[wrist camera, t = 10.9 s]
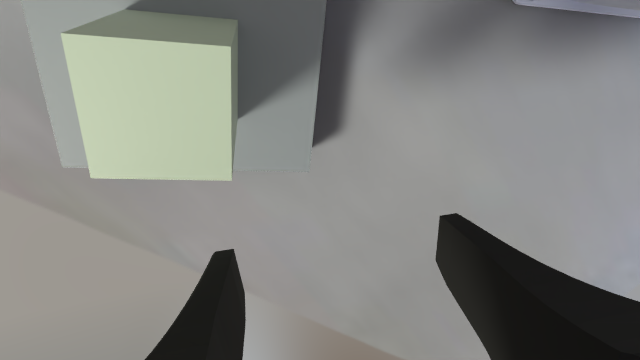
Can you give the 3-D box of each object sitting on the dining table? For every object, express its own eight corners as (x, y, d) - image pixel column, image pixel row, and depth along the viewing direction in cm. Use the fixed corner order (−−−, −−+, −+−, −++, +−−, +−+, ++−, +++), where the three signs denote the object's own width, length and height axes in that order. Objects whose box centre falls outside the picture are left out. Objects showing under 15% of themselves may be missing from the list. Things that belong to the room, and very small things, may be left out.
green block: (237, 19, 16) (230, 46, 11) (237, 119, 18) (231, 180, 13) (124, 9, 16) (60, 33, 10) (138, 115, 18) (91, 178, 13)
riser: (321, -42, 18) (331, -43, 16) (303, 152, 23) (309, 172, 21) (34, -78, 16) (-1, -84, 14) (82, 145, 20) (62, 167, 18)
